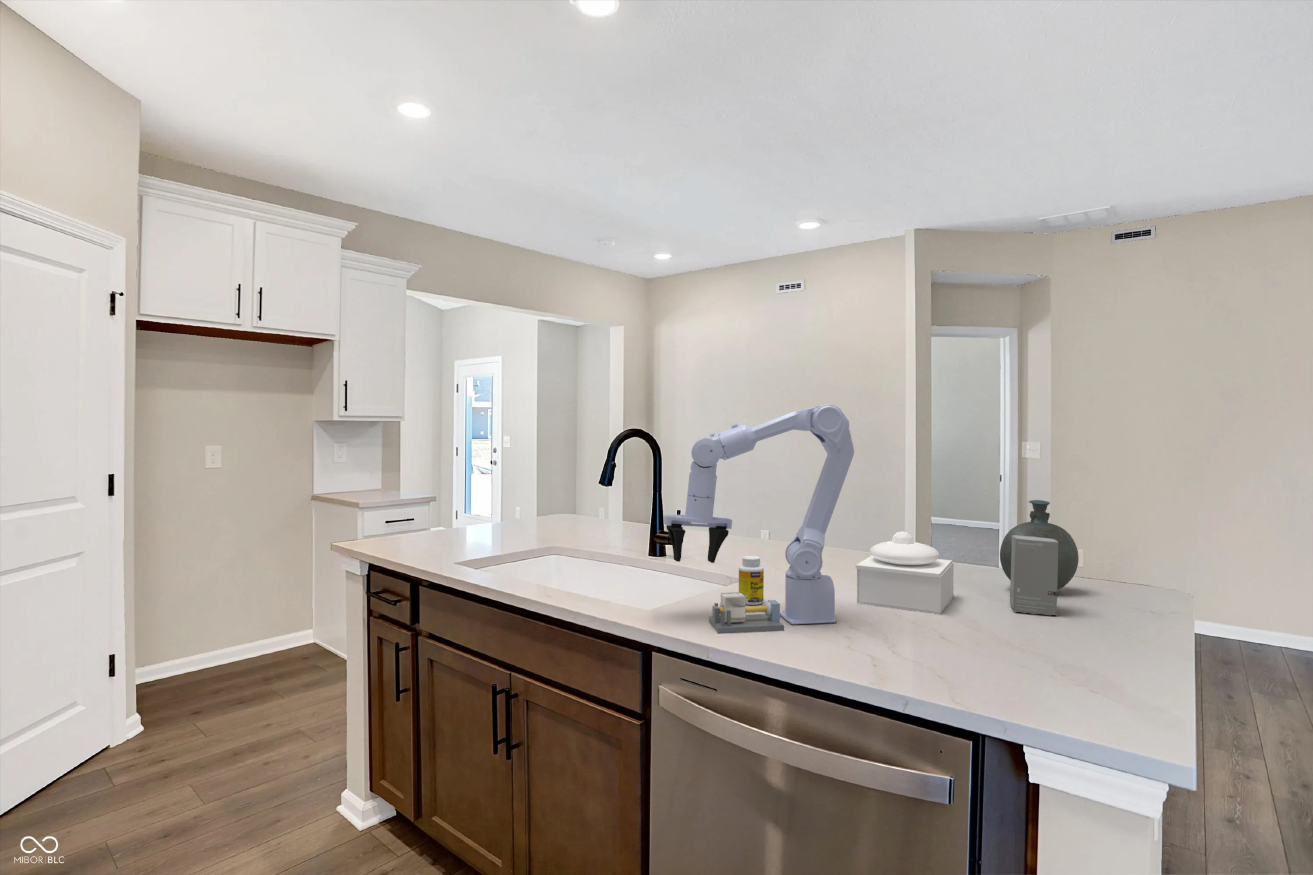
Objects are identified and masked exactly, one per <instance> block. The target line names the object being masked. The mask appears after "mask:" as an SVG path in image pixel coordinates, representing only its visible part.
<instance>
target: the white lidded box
mask: <svg viewBox="0 0 1313 875" xmlns="http://www.w3.org/2000/svg"><path fill="white" fill-rule="evenodd" d="M869 552H870V556H868V557H866V558H865V559H864V560H861V561H860V562H858V563H857V564H855V569H856V598H857V599H856V603H857V604H860V605H866V604H867V605H866V606H875V607H882V608H889V609H895V608H896V609H897V610H904V611H910V612H917V611H919V612H918V613H924V612H925V613H926V614H931V613H933V615H938V614H939V615H940V616H941V615H942V614H943V612H945V610H946V609H947V607H948V605H949V604H950V603H951V601H952V600H953V599H954V564H955V563H954V562H953V560H952V559H941V558H940V553H939V551H938V550H937V549H936V548H934V547H932V546H930V545H928V544H924V543H920V542H917V541H915V540H914V538H913V536H912V535H911V534H910V533H909V532H907V531H905V530H904V531H903V530H901V531H897V532H895V534H894V535H893V536H892V538H891V540H890V541H888V540H887V541H883V542H880V543H876V544H875V545H873V546H872V547H871V548H870V550H869ZM951 599H952V600H951ZM949 602H950V603H949ZM946 606H947V607H946ZM925 613H924V614H925ZM941 613H942V614H941Z"/></svg>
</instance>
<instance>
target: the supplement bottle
mask: <svg viewBox="0 0 1313 875" xmlns="http://www.w3.org/2000/svg"><path fill="white" fill-rule="evenodd" d="M741 559H742V562H741V563H742V564H741V565H739V567H738V592H740V593H742V594H743V595H744V596H745V606H746V605H747V606H760V605H761V604H763V603H764V588H765V587H764V584H765V583H764V577H765V576H764V575H765V574H764V573H765V571H764V566H762V565H761V557H759V556H757V555H755V556H754V555H745V556H742V558H741Z"/></svg>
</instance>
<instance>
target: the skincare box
mask: <svg viewBox="0 0 1313 875" xmlns="http://www.w3.org/2000/svg"><path fill="white" fill-rule="evenodd" d="M1058 545H1059V542H1058V541H1056V540H1054V539H1050V538H1039V537H1029V536H1017V535H1012V555H1011V581H1010V584H1009V585H1010V587H1009V589H1010V590H1009V591H1010V592H1009V593H1010V594H1009V606H1010V607H1011V609H1012V608H1013V609H1012V610H1013V612H1014V613H1016V612H1022V613H1021V614H1026V613H1035V614H1034V615H1037V614H1044V615H1043V616H1051V615H1056V616H1057V614H1058V613H1057V612H1058V611H1057V610H1058V609H1057V608H1058V590H1057V584H1058ZM1024 612H1025V613H1024Z"/></svg>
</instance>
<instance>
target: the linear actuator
mask: <svg viewBox="0 0 1313 875" xmlns="http://www.w3.org/2000/svg"><path fill="white" fill-rule="evenodd" d="M719 606H720V607H719ZM780 611H781V603H779V602H778V601H777V600H776V599H770V600H769V599H768V600H767V601H765V602H764V605H747V606H746V605H745V622H731V611H730V610H727V622H725V611H724V607H721V602H720V604H719V603H718V602H714V605H712V614H711V616H708V617H709V618H708V622H709V623H710V624H711V626H712V627H713V628H714V629H715V631H716V632H717V634H729V633H731V634H734V633H736V634H737V633H755V632H756V633H757V632H778V631H780V632H781V631H783V632H784V631H785V625H784V624H783V623H782V622H781V618H780V617H781V615H780ZM747 613H753V614H747ZM754 613H761V614H754Z"/></svg>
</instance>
